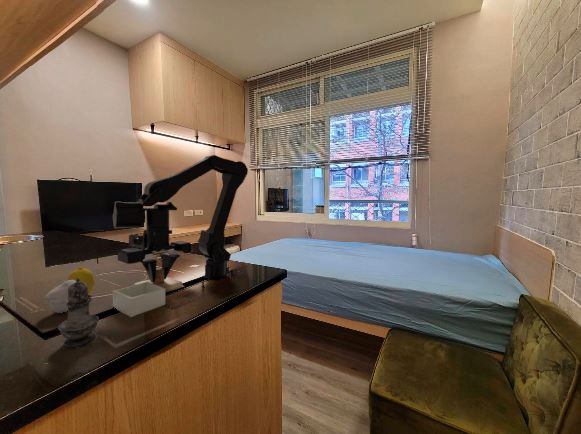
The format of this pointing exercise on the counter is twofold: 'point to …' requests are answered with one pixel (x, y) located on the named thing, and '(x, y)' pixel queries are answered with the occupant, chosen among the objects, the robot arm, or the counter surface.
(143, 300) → the dish
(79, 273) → the lemon
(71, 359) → the counter surface
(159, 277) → the lid
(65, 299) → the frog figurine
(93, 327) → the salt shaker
